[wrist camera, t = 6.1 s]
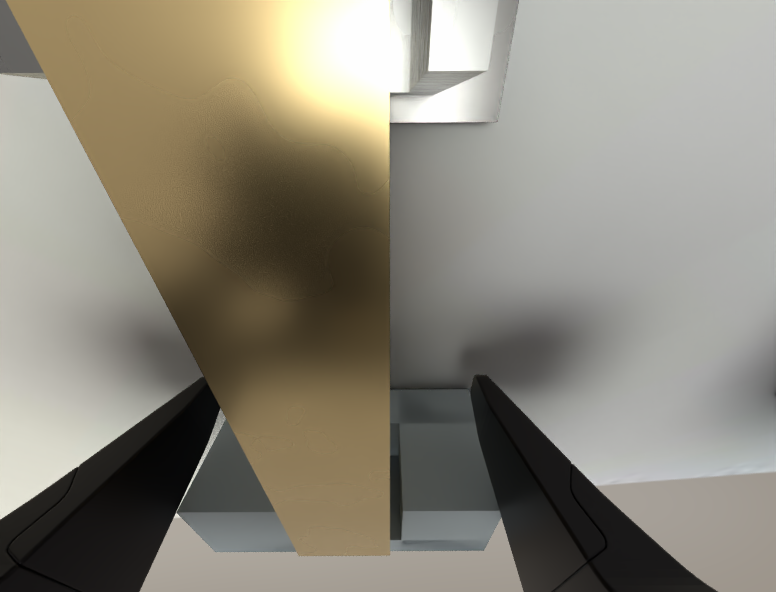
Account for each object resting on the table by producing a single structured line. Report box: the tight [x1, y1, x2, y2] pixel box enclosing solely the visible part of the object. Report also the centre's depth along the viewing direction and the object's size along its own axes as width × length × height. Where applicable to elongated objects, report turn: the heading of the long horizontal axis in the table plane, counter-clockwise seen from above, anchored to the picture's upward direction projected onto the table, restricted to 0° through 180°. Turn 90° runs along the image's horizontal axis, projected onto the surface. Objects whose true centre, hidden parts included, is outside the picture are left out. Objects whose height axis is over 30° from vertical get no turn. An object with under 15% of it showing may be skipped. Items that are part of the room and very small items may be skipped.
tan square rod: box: [6, 0, 390, 556], centre depth 6 cm, size 3×15×3 cm, turn 0°
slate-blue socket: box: [177, 389, 501, 552], centre depth 11 cm, size 10×4×4 cm, turn 90°
